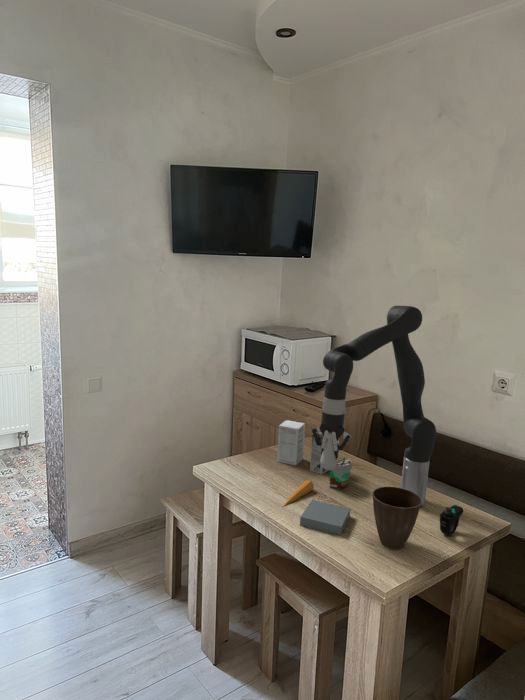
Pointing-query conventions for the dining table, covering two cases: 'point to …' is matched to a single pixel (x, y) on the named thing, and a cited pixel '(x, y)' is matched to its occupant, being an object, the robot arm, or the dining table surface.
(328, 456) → the salt shaker
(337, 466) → the food container
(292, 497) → the carrot
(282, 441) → the supplement box
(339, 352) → the robot arm
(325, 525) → the base plinth
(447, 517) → the controller
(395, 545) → the plant pot
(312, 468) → the coffee box
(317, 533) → the dining table surface
